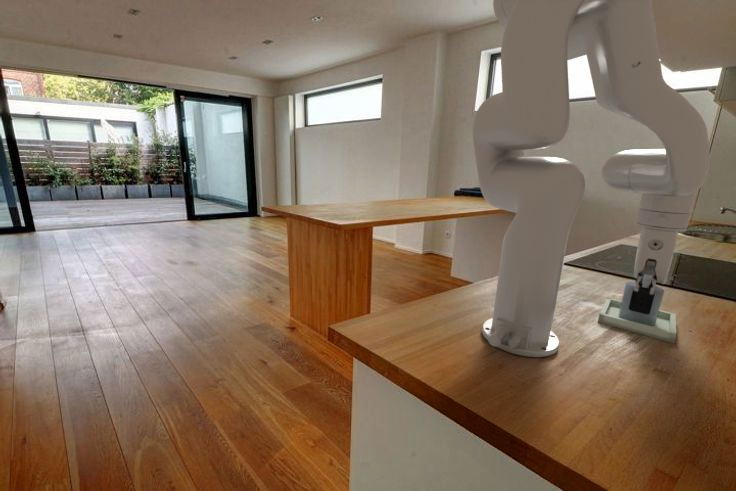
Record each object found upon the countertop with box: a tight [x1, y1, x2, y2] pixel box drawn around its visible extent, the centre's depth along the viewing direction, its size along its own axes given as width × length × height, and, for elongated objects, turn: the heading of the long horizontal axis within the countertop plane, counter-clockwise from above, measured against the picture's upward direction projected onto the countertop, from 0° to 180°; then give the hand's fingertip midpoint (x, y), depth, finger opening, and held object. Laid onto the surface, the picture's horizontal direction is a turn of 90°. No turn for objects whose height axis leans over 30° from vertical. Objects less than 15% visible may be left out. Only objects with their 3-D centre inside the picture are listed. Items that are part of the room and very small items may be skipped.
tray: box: [597, 297, 677, 344], centre depth 68 cm, size 12×12×2 cm
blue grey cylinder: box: [618, 281, 665, 326], centre depth 68 cm, size 6×6×7 cm
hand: (640, 304), depth 68 cm, fingers open, 9 cm apart
